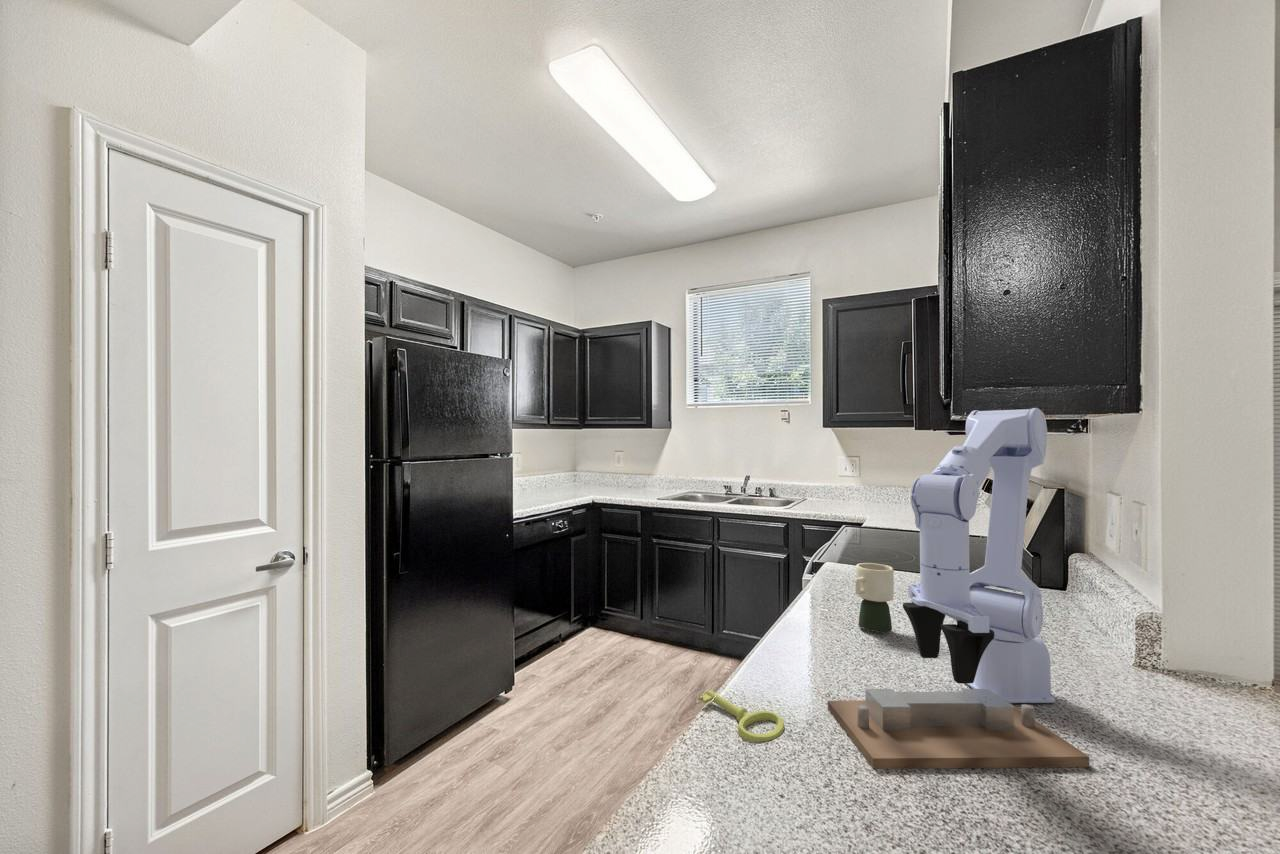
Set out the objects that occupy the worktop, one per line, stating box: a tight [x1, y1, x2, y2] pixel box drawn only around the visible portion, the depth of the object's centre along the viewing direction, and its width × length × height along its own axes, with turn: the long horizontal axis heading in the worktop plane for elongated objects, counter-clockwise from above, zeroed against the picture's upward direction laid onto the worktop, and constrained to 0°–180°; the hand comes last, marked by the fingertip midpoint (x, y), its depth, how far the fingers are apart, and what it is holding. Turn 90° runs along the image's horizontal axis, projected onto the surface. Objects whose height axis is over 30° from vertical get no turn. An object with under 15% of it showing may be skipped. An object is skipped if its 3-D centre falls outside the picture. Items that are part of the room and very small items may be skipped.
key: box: [698, 689, 785, 743], centre depth 73 cm, size 7×12×2 cm, turn 58°
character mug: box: [854, 562, 895, 633], centre depth 109 cm, size 11×7×13 cm, turn 118°
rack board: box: [827, 699, 1090, 770], centre depth 70 cm, size 26×14×4 cm, turn 91°
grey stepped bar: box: [865, 688, 1015, 730], centre depth 71 cm, size 17×5×3 cm, turn 91°
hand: (945, 669), depth 70 cm, fingers open, 7 cm apart
